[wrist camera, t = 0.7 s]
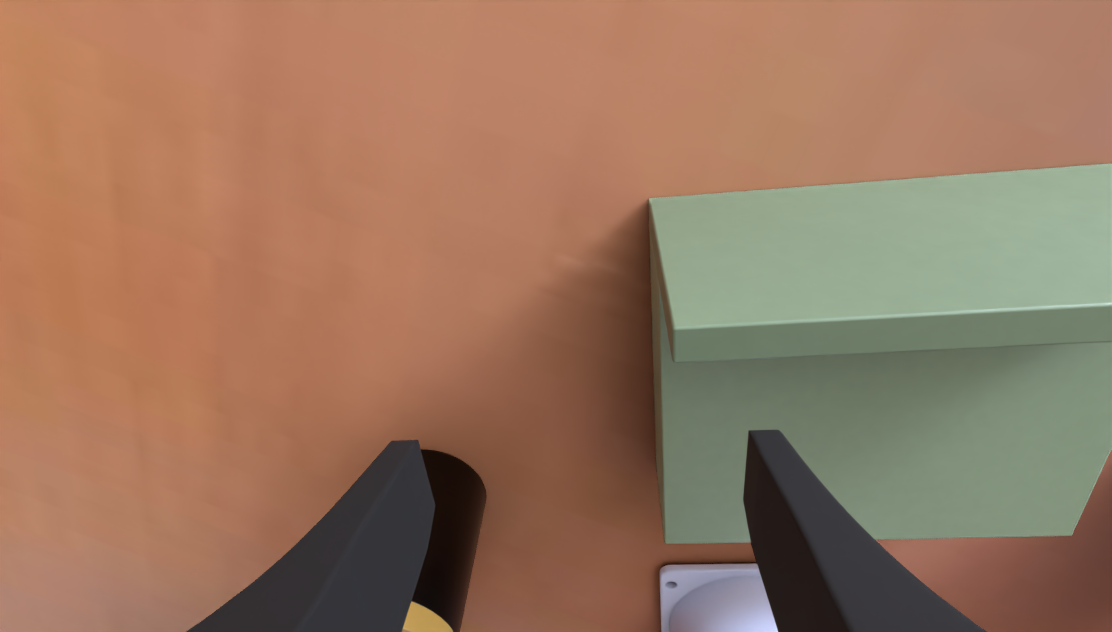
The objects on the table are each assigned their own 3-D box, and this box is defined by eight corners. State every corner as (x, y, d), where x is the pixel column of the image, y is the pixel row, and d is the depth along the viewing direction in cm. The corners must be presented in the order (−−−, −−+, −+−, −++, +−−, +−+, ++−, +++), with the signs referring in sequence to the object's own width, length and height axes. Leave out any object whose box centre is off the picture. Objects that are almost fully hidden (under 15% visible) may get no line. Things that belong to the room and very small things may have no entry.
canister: (496, 529, 29) (465, 709, 23) (388, 531, 30) (326, 708, 23) (478, 445, 27) (436, 620, 20) (360, 449, 27) (280, 621, 21)
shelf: (1008, 455, 25) (1159, 647, 19) (656, 466, 27) (675, 649, 20) (1112, 162, 19) (1391, 288, 12) (648, 197, 21) (671, 327, 14)
